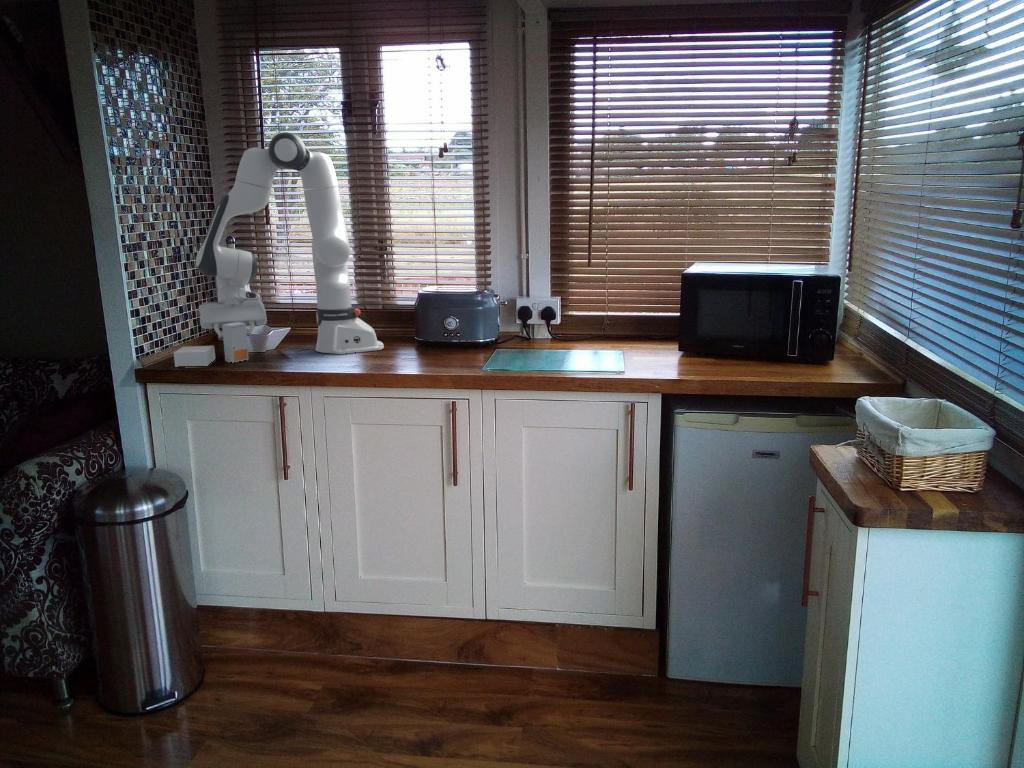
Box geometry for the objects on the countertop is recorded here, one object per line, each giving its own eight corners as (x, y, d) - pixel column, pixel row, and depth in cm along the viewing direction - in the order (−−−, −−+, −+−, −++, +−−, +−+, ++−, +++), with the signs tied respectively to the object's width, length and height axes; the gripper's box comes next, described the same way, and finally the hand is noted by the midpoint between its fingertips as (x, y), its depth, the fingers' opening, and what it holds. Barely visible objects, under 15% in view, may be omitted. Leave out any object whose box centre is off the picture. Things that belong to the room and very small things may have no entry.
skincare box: (233, 363, 260) (229, 325, 257) (225, 361, 262) (221, 324, 259) (249, 360, 264) (246, 322, 261) (241, 358, 267) (238, 321, 264)
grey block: (215, 361, 265) (214, 345, 264) (207, 367, 256) (205, 351, 255) (184, 362, 265) (183, 346, 263) (175, 368, 255) (173, 352, 254)
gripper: (197, 297, 263) (199, 332, 256) (264, 293, 269) (267, 328, 262) (199, 309, 268) (201, 344, 261) (265, 305, 274) (268, 339, 267)
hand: (235, 336), depth 262 cm, fingers closed on skincare box, 7 cm apart
